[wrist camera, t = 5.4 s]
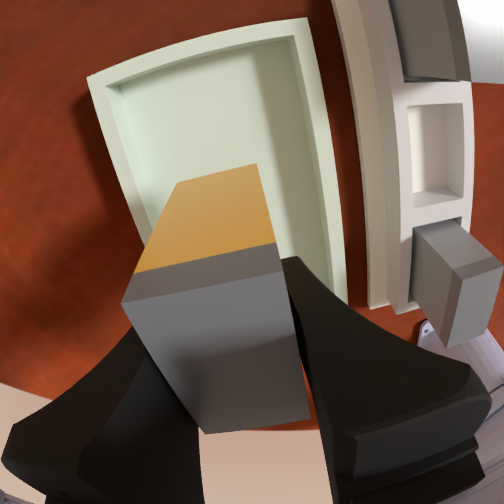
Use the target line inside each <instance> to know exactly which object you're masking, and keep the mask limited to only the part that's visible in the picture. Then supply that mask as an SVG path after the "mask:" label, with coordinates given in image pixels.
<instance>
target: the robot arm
mask: <svg viewBox="0 0 504 504" xmlns="http://www.w3.org/2000/svg"><path fill="white" fill-rule="evenodd" d="M280 260H281V264H282V268H283V272H284V277H285V282H286V287H287V292H288V297H289V302H290V307H291V312H292V318H293V323H294V328H295V333H296V338H297V344H298V349H299V354H300V358H301V361H302V364H303V367H304V370H305V374H306V377H307V380H308V383H309V386H310V389H311V393H312V396H313V400H314V404H315V409H316V414H317V419H318V424H319V429H320V434H321V439H322V444H323V449H324V455H325V460H326V466H327V471H328V476H329V482H330V488H331V494H332V499H333V504H504V352H503V350H502V349H501V347H500V346H499V344H498V343H497V342H496V340H495V339H494V337H493V336H492V335H491V333H490V332H489V330H488V329H487V328H486V331H485V334H482V335H480V336H478V337H475V338H473V339H471V340H468V341H466V342H463V343H461V344H458V345H456V346H453V347H451V348H448V349H446V348H445V347H444V345H443V343H442V342H441V340H440V338H439V337H438V335H437V334H436V332H435V330H434V329H433V327H432V326H431V324H430V322H429V321H428V320H427V321H424V322H423V323H422V324H421V326H420V332H419V337H418V342H417V346H416V345H414V344H412V343H409V342H407V341H405V340H403V339H401V338H400V337H398V336H396V335H394V334H392V333H390V332H388V331H386V330H384V329H382V328H381V327H379V326H378V325H376V324H374V323H373V322H371V321H370V320H368V319H367V318H365V317H364V316H362V315H361V314H359V313H358V312H356V311H355V310H354V309H352V308H351V307H350V306H348V305H347V304H346V303H345V302H344V301H342V300H341V299H340V298H339V297H337V296H336V295H335V294H334V293H333V292H332V291H331V290H330V289H329V288H328V287H326V286H325V285H324V284H323V283H322V282H321V281H320V280H319V279H318V278H317V277H316V276H315V275H314V274H313V273H312V271H311V270H310V269H309V268H308V267H307V266H306V265H305V263H304V262H303V261H302V259H301V258H300V257H298V256H292V257H288V258H283V259H280ZM1 461H2V463H3V465H4V466H5V468H6V469H7V470H9V471H10V472H11V473H12V474H14V475H15V476H16V477H18V478H19V479H21V480H22V481H24V482H25V483H27V484H28V485H30V486H31V487H33V488H35V489H36V490H38V491H39V492H41V493H43V494H44V495H46V500H45V504H205V501H204V495H203V486H202V477H201V467H200V453H199V431H198V424H197V423H196V422H195V420H194V419H193V417H192V416H191V415H190V413H189V412H188V411H187V409H186V408H185V406H184V405H183V403H182V402H181V401H180V399H179V398H178V396H177V395H176V393H175V392H174V390H173V389H172V387H171V386H170V384H169V383H168V381H167V380H166V378H165V377H164V375H163V374H162V372H161V371H160V369H159V368H158V366H157V365H156V363H155V361H154V360H153V358H152V357H151V355H150V353H149V352H148V350H147V349H146V347H145V345H144V344H143V342H142V340H141V339H140V337H139V335H138V333H137V332H136V330H135V328H134V327H133V326H132V327H131V328H130V329H129V331H128V332H127V333H126V334H125V335H124V337H123V338H122V339H121V340H120V341H119V342H118V344H117V345H116V346H115V347H114V348H113V349H112V350H111V351H110V352H109V353H108V354H107V355H106V356H105V357H104V358H103V359H102V360H101V361H100V362H99V363H98V364H97V365H96V366H95V367H94V368H93V369H92V370H91V371H90V372H89V373H87V374H86V375H85V376H84V377H83V378H82V379H80V380H79V381H78V382H77V383H76V384H74V385H73V386H72V387H71V388H70V389H68V390H67V391H66V392H64V393H63V394H62V395H60V396H59V397H58V398H56V399H55V400H53V401H52V402H51V403H49V404H48V405H46V406H45V407H43V408H42V409H40V410H38V411H37V412H35V413H33V414H31V415H30V416H28V417H26V418H24V419H23V420H21V421H19V422H17V423H15V424H13V426H12V428H11V431H10V434H9V437H8V440H7V443H6V445H5V448H4V451H3V454H2V457H1ZM0 504H33V503H30V502H27V501H25V500H22V499H19V498H17V497H14V496H11V495H9V494H6V493H4V491H2V490H1V489H0Z"/></svg>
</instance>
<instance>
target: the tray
mask: <svg viewBox="0 0 504 504" xmlns="http://www.w3.org/2000/svg"><path fill="white" fill-rule="evenodd" d="M87 81H88V85H89V88H90V92H91V96H92V99H93V103H94V106H95V109H96V113H97V116H98V119H99V123H100V126H101V129H102V132H103V135H104V138H105V141H106V144H107V147H108V150H109V153H110V156H111V159H112V162H113V165H114V168H115V171H116V174H117V176H118V179H119V182H120V185H121V188H122V190H123V193H124V196H125V198H126V201H127V204H128V206H129V209H130V211H131V214H132V217H133V219H134V222H135V224H136V227H137V229H138V232H139V234H140V237H141V239H142V241H143V244H144V246H146V244H147V242H148V240H149V238H150V236H151V234H152V232H153V229H154V227H155V225H156V223H157V221H158V219H159V217H160V215H161V213H162V211H163V209H164V207H165V205H166V203H167V201H168V199H169V197H170V195H171V193H172V191H173V189H174V187H175V185H176V183H178V182H181V181H185V180H189V179H193V178H196V177H200V176H204V175H208V174H212V173H216V172H220V171H224V170H229V169H233V168H237V167H241V166H246V165H250V164H255V163H256V164H257V167H258V171H259V175H260V179H261V183H262V187H263V191H264V195H265V199H266V203H267V207H268V211H269V215H270V219H271V223H272V227H273V231H274V235H275V239H276V243H277V247H278V251H279V255H280V259H283V258H288V257H292V256H298V257H300V258H301V259H302V261H303V262H304V263H305V265H306V266H307V267H308V268H309V269H310V270H311V271H312V273H313V274H314V275H315V276H316V277H317V278H318V279H319V280H320V281H321V282H322V283H323V284H324V285H325V286H326V287H328V288H329V289H330V290H331V291H332V292H333V293H334V294H335V295H336V296H337V297H339V298H340V299H341V300H342V301H344V302H345V303H346V304H347V305H348V296H347V278H346V264H345V251H344V239H343V228H342V218H341V208H340V199H339V191H338V183H337V175H336V167H335V160H334V153H333V146H332V140H331V133H330V127H329V121H328V115H327V109H326V104H325V98H324V93H323V87H322V82H321V77H320V72H319V67H318V63H317V58H316V53H315V49H314V44H313V40H312V36H311V32H310V27H309V23H308V19H307V17H306V18H297V19H289V20H282V21H275V22H268V23H262V24H256V25H251V26H246V27H241V28H236V29H231V30H226V31H222V32H218V33H214V34H210V35H206V36H202V37H198V38H194V39H191V40H187V41H184V42H180V43H177V44H174V45H170V46H167V47H164V48H161V49H158V50H155V51H152V52H149V53H146V54H143V55H141V56H138V57H135V58H133V59H130V60H127V61H125V62H122V63H120V64H117V65H115V66H112V67H110V68H107V69H105V70H103V71H100V72H98V73H96V74H94V75H91V76H89V77H87Z"/></svg>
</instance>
